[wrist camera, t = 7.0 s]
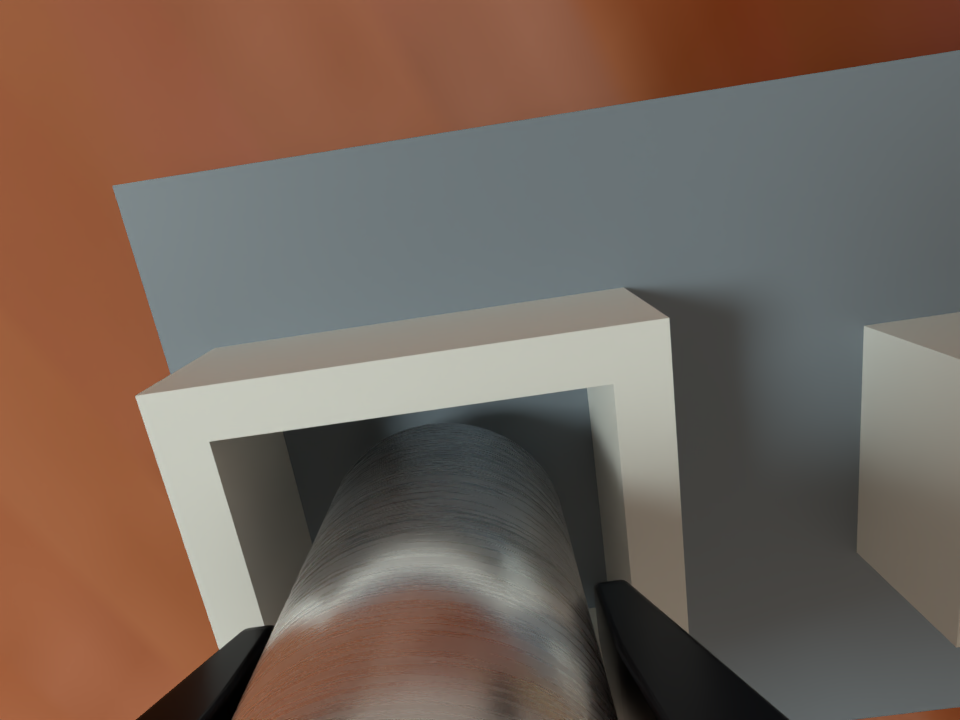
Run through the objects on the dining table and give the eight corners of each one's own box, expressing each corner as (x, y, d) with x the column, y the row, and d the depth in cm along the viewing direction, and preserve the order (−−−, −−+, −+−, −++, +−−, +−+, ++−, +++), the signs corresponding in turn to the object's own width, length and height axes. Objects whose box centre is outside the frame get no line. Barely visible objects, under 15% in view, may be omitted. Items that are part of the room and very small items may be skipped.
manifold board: (1210, 18, 10) (1644, -83, 6) (1104, 630, 14) (1344, 798, 10) (160, 186, 11) (-10, 183, 7) (316, 727, 15) (258, 919, 11)
